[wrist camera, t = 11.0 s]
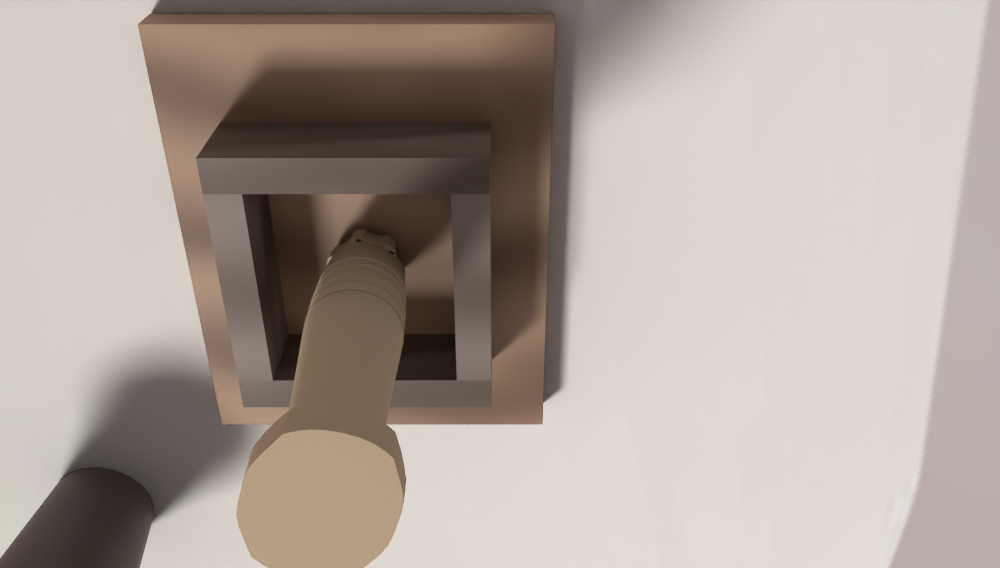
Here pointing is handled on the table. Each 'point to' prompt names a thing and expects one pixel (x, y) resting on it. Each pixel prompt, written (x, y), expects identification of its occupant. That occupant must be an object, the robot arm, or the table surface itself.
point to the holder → (364, 193)
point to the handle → (335, 423)
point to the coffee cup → (86, 524)
